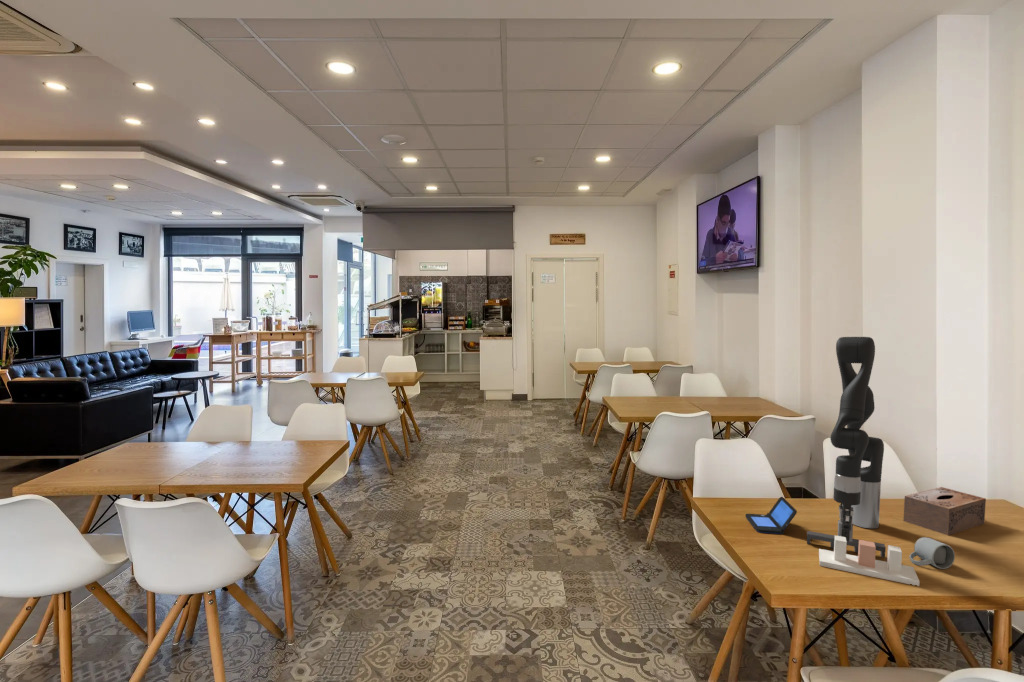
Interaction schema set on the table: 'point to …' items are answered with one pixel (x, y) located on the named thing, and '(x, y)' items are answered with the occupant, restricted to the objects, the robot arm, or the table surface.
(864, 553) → the display stand
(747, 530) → the table surface
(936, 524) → the tissue box cover
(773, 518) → the handheld game console
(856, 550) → the gray bar
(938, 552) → the ceramic mug
